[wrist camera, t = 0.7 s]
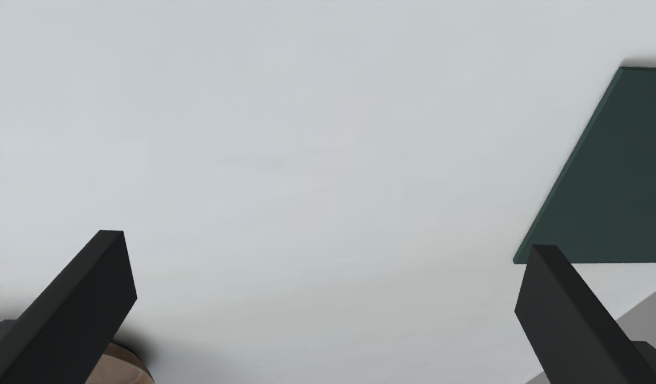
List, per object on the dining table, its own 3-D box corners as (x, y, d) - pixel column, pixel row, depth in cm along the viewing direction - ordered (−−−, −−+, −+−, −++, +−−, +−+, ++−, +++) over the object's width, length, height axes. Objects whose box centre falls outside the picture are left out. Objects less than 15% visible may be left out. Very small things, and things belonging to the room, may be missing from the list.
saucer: (9, 309, 39) (-6, 338, 37) (179, 342, 45) (174, 369, 43) (-4, 378, 47) (-16, 405, 46) (141, 399, 53) (135, 424, 51)
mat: (619, 66, 26) (623, 69, 26) (824, 72, 27) (829, 75, 27) (512, 260, 38) (514, 264, 38) (655, 259, 39) (658, 262, 39)
